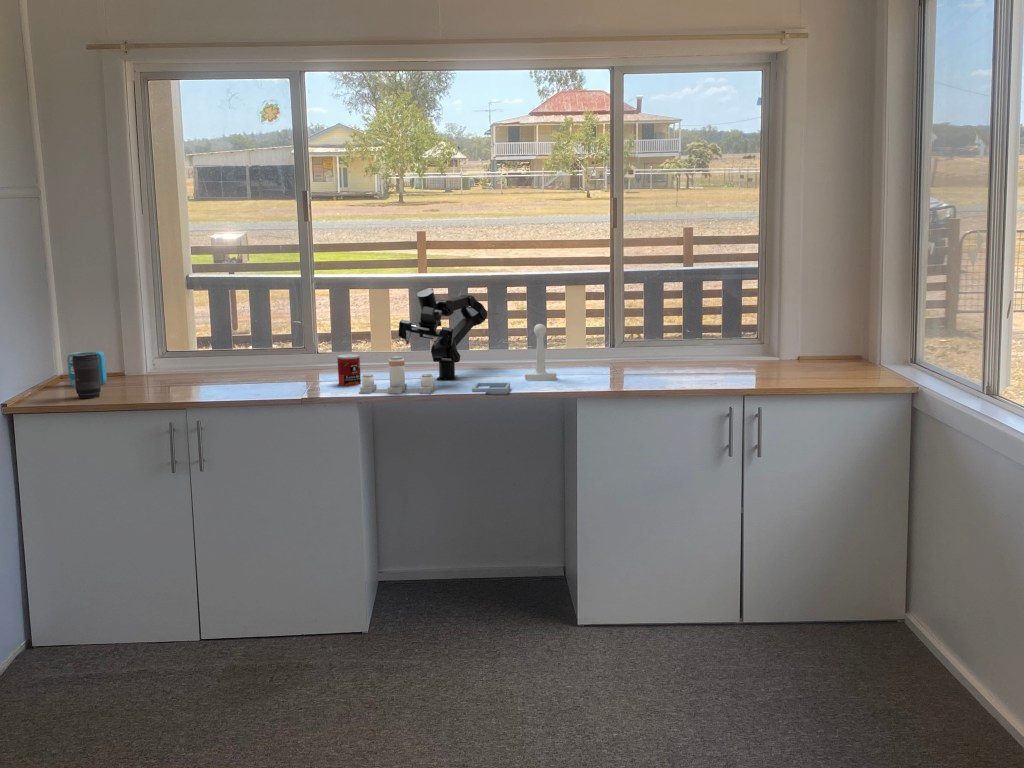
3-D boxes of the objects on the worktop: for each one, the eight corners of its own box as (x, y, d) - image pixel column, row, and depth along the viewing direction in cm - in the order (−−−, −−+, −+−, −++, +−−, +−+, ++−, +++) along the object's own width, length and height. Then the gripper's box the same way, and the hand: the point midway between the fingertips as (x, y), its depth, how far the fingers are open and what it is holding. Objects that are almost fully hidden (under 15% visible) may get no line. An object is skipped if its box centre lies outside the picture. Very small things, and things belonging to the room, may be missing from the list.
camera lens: (71, 398, 344) (66, 354, 342) (92, 394, 351) (88, 351, 348) (85, 400, 340) (81, 356, 337) (106, 396, 346) (102, 352, 344)
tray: (476, 388, 346) (476, 382, 346) (510, 388, 345) (510, 382, 345) (472, 394, 335) (472, 388, 335) (507, 394, 334) (507, 388, 334)
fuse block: (364, 391, 345) (364, 383, 344) (437, 391, 342) (437, 383, 341) (357, 396, 336) (357, 388, 336) (432, 396, 333) (431, 388, 333)
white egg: (364, 390, 342) (363, 374, 341) (375, 390, 342) (375, 373, 341) (361, 392, 338) (360, 375, 337) (373, 392, 338) (372, 375, 337)
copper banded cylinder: (391, 389, 342) (390, 355, 340) (406, 389, 341) (405, 355, 339) (388, 392, 336) (387, 358, 334) (404, 392, 336) (402, 357, 334)
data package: (69, 386, 368) (66, 354, 366) (73, 384, 372) (70, 352, 370) (104, 385, 369) (101, 352, 367) (107, 383, 374) (104, 351, 372)
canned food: (345, 389, 350) (343, 358, 348) (334, 386, 356) (333, 355, 355) (365, 386, 354) (363, 355, 353) (354, 384, 361) (353, 353, 359)
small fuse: (422, 390, 340) (421, 373, 339) (434, 390, 339) (433, 373, 338) (420, 392, 336) (419, 375, 335) (432, 392, 335) (431, 375, 334)
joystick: (525, 381, 359) (524, 324, 356) (524, 377, 367) (523, 322, 363) (556, 380, 360) (556, 324, 357) (554, 376, 367) (553, 321, 364)
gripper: (405, 297, 350) (394, 320, 338) (458, 306, 349) (449, 330, 336) (403, 324, 357) (393, 348, 344) (455, 334, 356) (446, 357, 343)
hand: (420, 345), depth 342 cm, fingers open, 9 cm apart
